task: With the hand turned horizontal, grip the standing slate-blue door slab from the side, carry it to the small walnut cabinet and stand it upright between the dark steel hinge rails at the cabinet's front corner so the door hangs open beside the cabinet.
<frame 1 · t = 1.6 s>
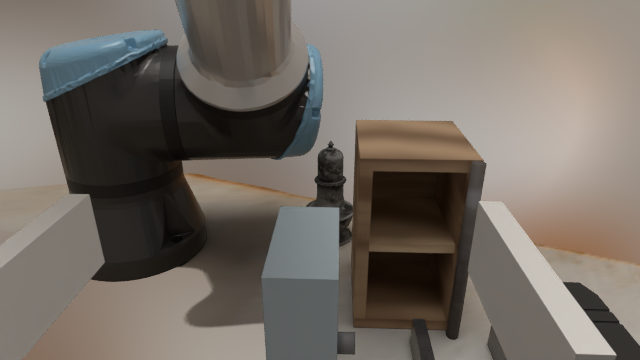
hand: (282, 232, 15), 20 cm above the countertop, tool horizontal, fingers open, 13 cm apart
salt shaker: (329, 236, 54), on the countertop
cabinet: (398, 292, 44), on the countertop
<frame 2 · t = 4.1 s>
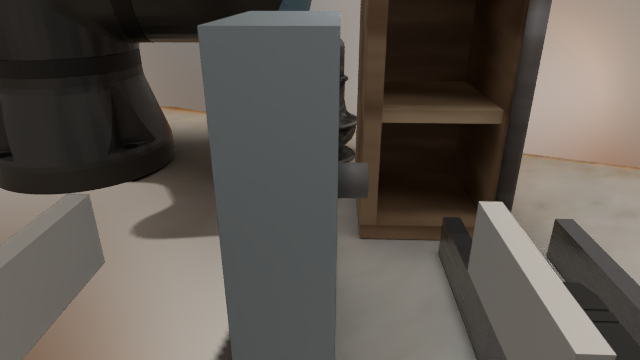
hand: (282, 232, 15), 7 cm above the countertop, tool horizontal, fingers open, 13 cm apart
hinge bracket: (529, 302, 23), on the countertop
salt shaker: (327, 156, 43), on the countertop
door: (294, 323, 22), on the countertop
cabinet: (417, 204, 33), on the countertop
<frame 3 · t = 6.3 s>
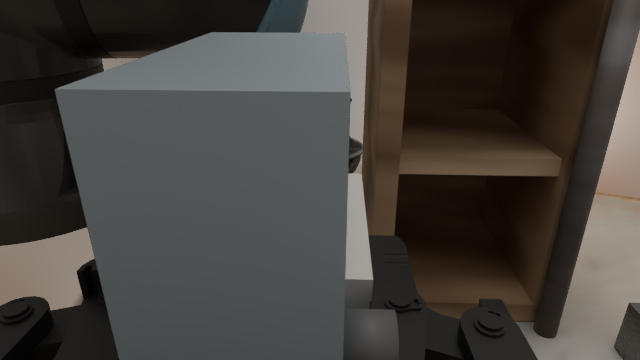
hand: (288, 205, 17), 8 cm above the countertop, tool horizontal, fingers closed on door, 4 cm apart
salt shaker: (327, 189, 37), on the countertop
cabinet: (438, 262, 27), on the countertop
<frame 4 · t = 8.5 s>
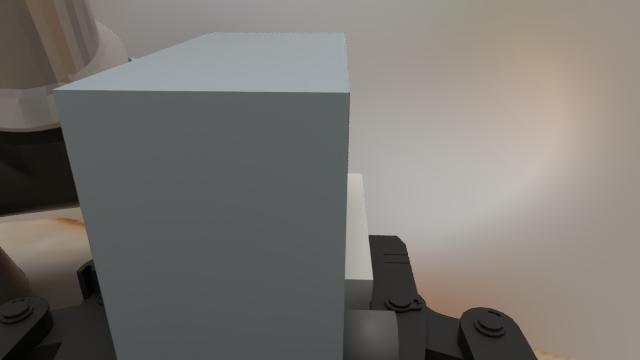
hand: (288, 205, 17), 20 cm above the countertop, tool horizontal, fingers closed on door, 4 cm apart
when the fingers open (9 cm above the countertop, at t = 10.8 s): door drops 1 cm, on the countertop.
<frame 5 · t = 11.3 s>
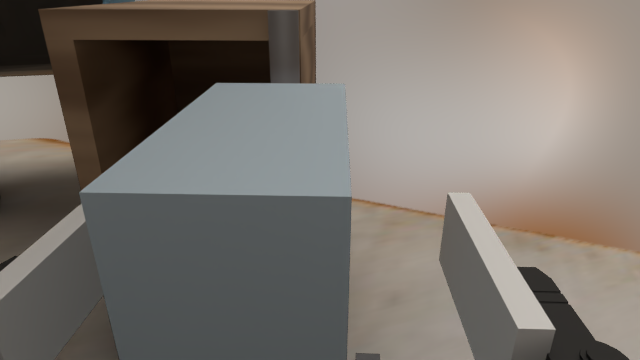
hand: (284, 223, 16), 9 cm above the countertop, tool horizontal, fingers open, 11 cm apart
cabinet: (235, 297, 26), on the countertop
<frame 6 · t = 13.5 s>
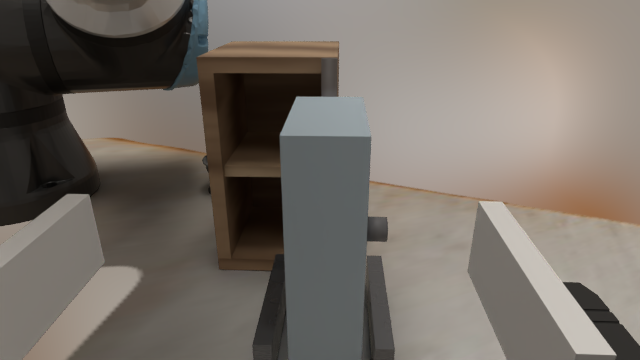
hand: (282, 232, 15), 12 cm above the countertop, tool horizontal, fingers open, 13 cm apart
hinge bracket: (326, 326, 29), on the countertop
door: (326, 327, 29), on the countertop
cabinet: (284, 237, 39), on the countertop
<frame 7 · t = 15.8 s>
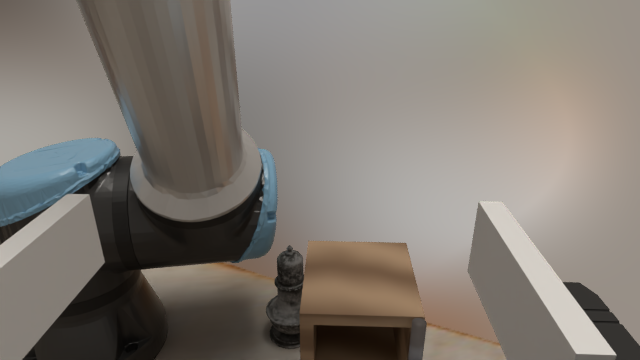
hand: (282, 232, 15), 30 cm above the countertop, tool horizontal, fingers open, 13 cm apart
salt shaker: (292, 333, 53), on the countertop
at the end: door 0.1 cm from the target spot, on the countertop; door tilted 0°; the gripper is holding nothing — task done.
